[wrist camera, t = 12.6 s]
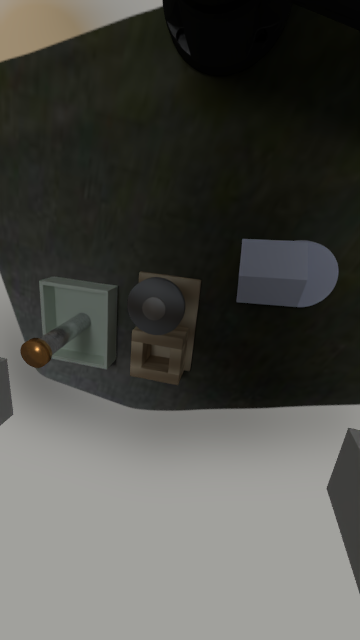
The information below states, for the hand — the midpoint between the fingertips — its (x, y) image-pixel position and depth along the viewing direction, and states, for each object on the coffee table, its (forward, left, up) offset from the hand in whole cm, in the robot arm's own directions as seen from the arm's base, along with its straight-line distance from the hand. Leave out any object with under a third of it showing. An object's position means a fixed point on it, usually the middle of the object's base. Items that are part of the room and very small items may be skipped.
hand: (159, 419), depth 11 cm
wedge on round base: (-1, +9, -37) cm, 38 cm away
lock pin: (+12, -23, -36) cm, 44 cm away
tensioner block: (+9, -8, -37) cm, 39 cm away
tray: (+12, -23, -37) cm, 45 cm away
